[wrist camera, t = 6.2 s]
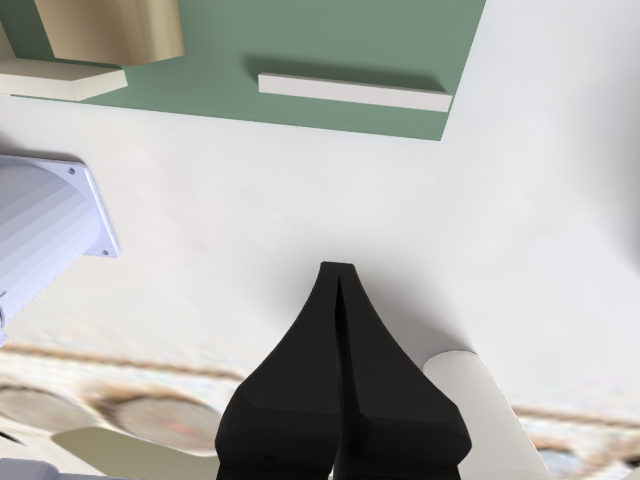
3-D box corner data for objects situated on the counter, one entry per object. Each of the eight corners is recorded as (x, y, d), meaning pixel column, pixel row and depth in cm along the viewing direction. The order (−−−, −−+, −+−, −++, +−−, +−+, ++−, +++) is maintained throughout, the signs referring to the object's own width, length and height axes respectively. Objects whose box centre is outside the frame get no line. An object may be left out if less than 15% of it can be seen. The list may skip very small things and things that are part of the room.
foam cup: (419, 395, 36) (453, 546, 26) (397, 353, 32) (429, 518, 21) (503, 380, 34) (579, 541, 23) (493, 332, 29) (584, 508, 19)
